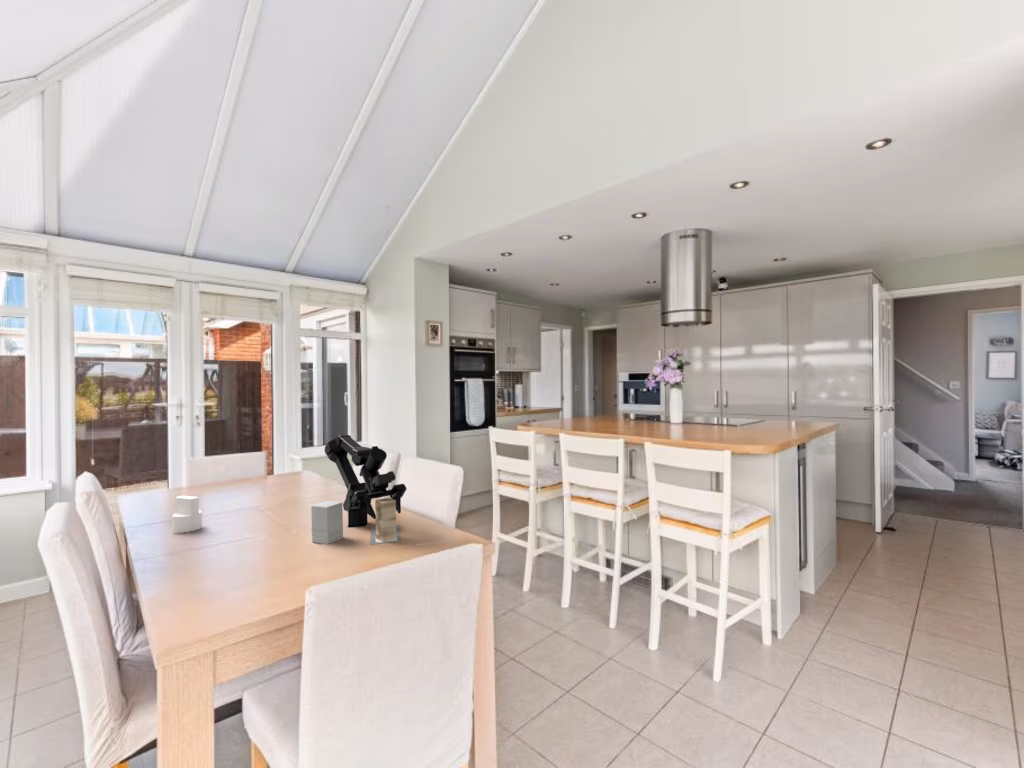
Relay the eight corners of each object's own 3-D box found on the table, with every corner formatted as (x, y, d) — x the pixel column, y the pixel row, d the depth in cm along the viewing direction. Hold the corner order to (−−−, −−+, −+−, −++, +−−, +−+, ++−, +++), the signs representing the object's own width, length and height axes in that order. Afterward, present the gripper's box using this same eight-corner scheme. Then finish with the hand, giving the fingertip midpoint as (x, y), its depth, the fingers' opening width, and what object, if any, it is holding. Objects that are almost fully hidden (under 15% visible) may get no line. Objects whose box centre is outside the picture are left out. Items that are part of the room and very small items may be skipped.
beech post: (375, 538, 164) (375, 500, 164) (389, 534, 167) (388, 497, 167) (382, 541, 160) (382, 502, 160) (396, 538, 163) (395, 500, 163)
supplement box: (343, 538, 165) (343, 502, 165) (327, 545, 159) (326, 507, 159) (328, 535, 169) (327, 500, 168) (311, 542, 162) (310, 505, 162)
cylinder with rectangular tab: (167, 531, 176) (166, 499, 176) (191, 524, 184) (190, 493, 184) (183, 534, 173) (182, 501, 173) (207, 527, 181) (206, 495, 181)
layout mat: (369, 546, 157) (369, 544, 157) (370, 528, 177) (370, 526, 177) (400, 542, 160) (400, 541, 160) (398, 525, 179) (398, 524, 179)
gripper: (353, 468, 160) (369, 507, 152) (403, 461, 172) (420, 496, 164) (344, 487, 166) (358, 526, 158) (393, 479, 178) (408, 515, 170)
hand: (387, 515), depth 162 cm, fingers open, 9 cm apart
